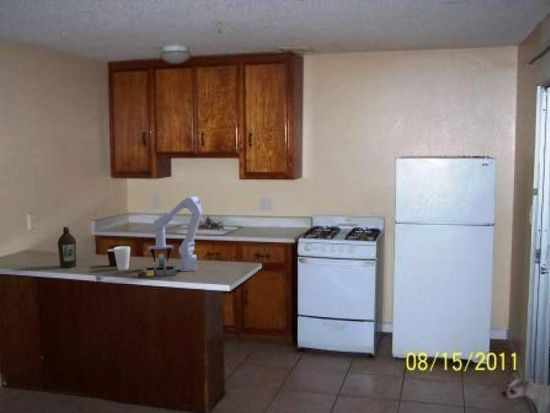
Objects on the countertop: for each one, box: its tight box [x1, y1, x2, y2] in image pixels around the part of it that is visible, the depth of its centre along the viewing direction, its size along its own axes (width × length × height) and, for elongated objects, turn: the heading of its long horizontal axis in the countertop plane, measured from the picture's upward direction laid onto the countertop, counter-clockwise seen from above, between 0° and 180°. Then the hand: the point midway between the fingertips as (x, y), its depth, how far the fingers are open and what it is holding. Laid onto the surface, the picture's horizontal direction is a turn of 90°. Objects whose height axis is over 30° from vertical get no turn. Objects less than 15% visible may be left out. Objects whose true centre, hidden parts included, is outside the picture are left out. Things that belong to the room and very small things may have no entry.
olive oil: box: [57, 226, 77, 269], centre depth 356 cm, size 11×11×25 cm
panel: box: [158, 254, 165, 266], centre depth 347 cm, size 3×8×8 cm, turn 11°
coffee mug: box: [106, 248, 117, 268], centre depth 358 cm, size 12×9×10 cm
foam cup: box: [113, 245, 131, 271], centre depth 348 cm, size 10×9×13 cm
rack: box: [142, 264, 178, 278], centre depth 333 cm, size 19×13×3 cm
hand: (161, 261), depth 347 cm, fingers open, 7 cm apart
